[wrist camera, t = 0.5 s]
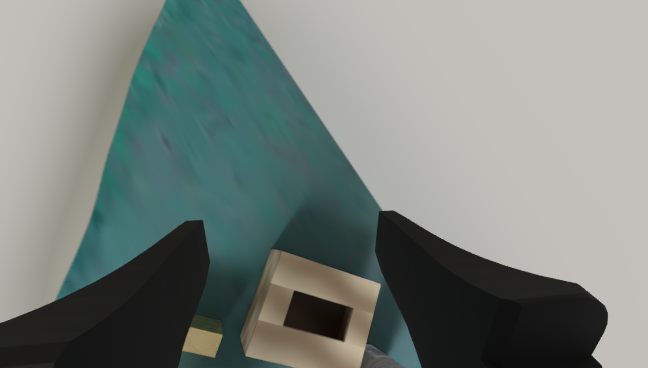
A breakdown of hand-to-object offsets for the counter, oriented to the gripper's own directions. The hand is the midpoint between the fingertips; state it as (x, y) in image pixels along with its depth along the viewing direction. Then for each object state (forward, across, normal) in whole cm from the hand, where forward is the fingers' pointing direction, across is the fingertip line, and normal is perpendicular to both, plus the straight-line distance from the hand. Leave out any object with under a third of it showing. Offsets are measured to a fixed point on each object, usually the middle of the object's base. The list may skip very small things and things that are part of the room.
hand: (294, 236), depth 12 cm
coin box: (+17, -1, +21) cm, 27 cm away
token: (+14, +10, +20) cm, 27 cm away
